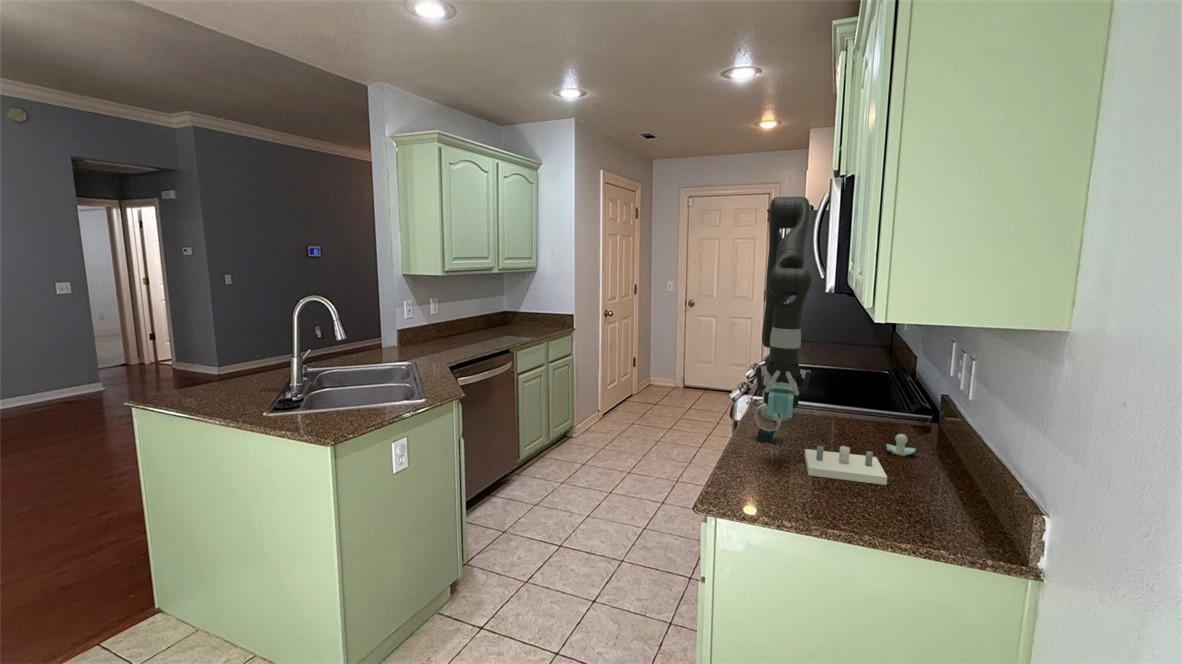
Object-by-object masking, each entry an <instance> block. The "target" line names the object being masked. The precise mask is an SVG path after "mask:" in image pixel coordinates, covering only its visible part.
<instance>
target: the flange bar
mask: <svg viewBox="0 0 1182 664" xmlns="http://www.w3.org/2000/svg"><path fill="white" fill-rule="evenodd" d="M793 397H794V392H793V389H792V387H791V386H789V388H787V387H777V386H776V384H773V386H772V387H771V389H770V392H769V397H768V411H767V415H770V416H773V413H776V414H784V415H787V418H790V419H793V411H794V410H793Z"/></svg>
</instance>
